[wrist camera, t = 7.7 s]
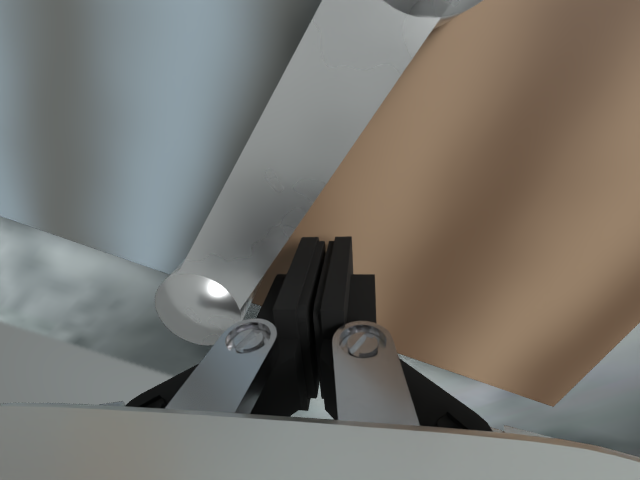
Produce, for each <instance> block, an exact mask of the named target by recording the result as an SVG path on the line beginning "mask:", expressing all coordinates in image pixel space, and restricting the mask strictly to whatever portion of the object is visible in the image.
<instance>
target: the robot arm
mask: <svg viewBox="0 0 640 480" xmlns="http://www.w3.org/2000/svg"><path fill="white" fill-rule="evenodd" d="M319 382H320V388H321V397H322V399H324V404H325V410H326V411H327V412H328V413H329V414H330V415H331V416H332V417H333V419H334V420H331V419H317V418H301V417H291V415H292V414H294V413H295V412H297V411H298V410H305V411H308V409H309V403H310V398H317V394H318V388H319ZM0 480H640V457H637V456H633V455H630V454H626V453H622V452H619V451H615V450H611V449H608V448H604V447H600V446H595V445H590V444H585V443H579V442H574V441H569V440H563V439H556V438H553V437H549V436H545V435H541V434H537V433H533V432H529V431H525V430H521V429H517V428H513V427H510V426H506V425H504V427H503V430H499V429H495V428H491V427H490V426H489V425H488V423H487V422H486V421H485V420H484V419H482V418H481V417H480V416H479V415H478V414H477V413H475V412H474V411H473V410H471V409H470V408H468V407H467V406H465V405H464V404H463V403H461V402H460V401H458V400H457V399H456V398H454V397H453V396H451V395H450V394H449V393H447V392H446V391H444V390H443V389H442V388H440V387H439V386H437V385H436V384H435V383H433V382H432V381H430V380H429V379H428V378H426V377H425V376H423V375H422V374H421V373H419V372H418V371H416V370H415V369H414V368H412V367H411V366H409V365H408V364H407V363H405V362H404V361H402V360H401V359H399V357H398V354H397V350H396V347H395V344H394V341H393V338H392V336H391V334H390V332H389V331H388V330H387V329H385V328H384V327H383V326H381V325H379V324H377V322H376V292H375V274H353V252H352V236H346V237H335V240H334V241H329V243H328V247H327V251H326V247H325V241H319V237H302V238H301V240H300V243H299V245H298V248H297V250H296V253H295V255H294V258H293V260H292V263H291V265H290V267H289V270H288V272H287V274H277V275H276V277H275V279H274V281H273V283H272V285H271V287H270V290H269V292H268V294H267V296H266V298H265V301H264V303H263V305H262V307H261V309H260V312H259V314H258V316H257V318H256V319H254V318H252V319H247V320H243V321H240V322H237V323H235V324H233V325H232V326H230V327H229V328H228V329H227V330H225V331H224V332H223V334H222V335H221V336H220V337H219V339H218V340H217V341H216V343H215V344H214V345H213V347H212V348H211V349H210V350H209V352H208V353H207V354H206V356H205V357H204V358H203V359H202V361H201V362H200V363H199V364H198V365H196V366H194V367H192V368H190V369H188V370H186V371H184V372H182V373H180V374H178V375H176V376H175V377H173V378H171V379H169V380H167V381H165V382H163V383H161V384H159V385H157V386H155V387H154V388H152V389H150V390H148V391H146V392H144V393H142V394H140V395H139V396H137V397H136V398H134V399H132V400H131V401H130V402H129V403H128V404H127V405H126V406H125V404H124V402H123V401H121V402H114V403H107V404H100V405H87V404H65V403H3V404H0Z"/></svg>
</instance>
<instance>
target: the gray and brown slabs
mask: <svg viewBox="0 0 640 480" xmlns="http://www.w3.org/2000/svg"><path fill="white" fill-rule="evenodd" d="M321 2H322V0H0V216H2V217H4V218H7V219H10V220H13V221H16V222H19V223H22V224H25V225H28V226H31V227H33V228H36V229H39V230H42V231H45V232H48V233H51V234H54V235H57V236H60V237H62V238H65V239H68V240H71V241H74V242H77V243H80V244H83V245H86V246H89V247H91V248H94V249H97V250H100V251H103V252H106V253H109V254H112V255H115V256H118V257H120V258H123V259H126V260H129V261H132V262H135V263H138V264H141V265H144V266H147V267H149V268H152V269H155V270H158V271H161V272H164V273H167V274H171V273H172V272H173V271H174V270H175V269H176V268H177V267H178V266H179V265H180V264H181V263H182V262H183V261H184V260H185V259H186V257H187V255H188V253H189V252H190V250H191V248H192V246H193V244H194V242H195V240H196V238H197V236H198V235H199V233H200V231H201V229H202V227H203V225H204V223H205V221H206V219H207V217H208V216H209V214H210V212H211V210H212V208H213V206H214V204H215V202H216V200H217V199H218V197H219V195H220V193H221V191H222V189H223V187H224V185H225V183H226V181H227V180H228V178H229V176H230V174H231V172H232V170H233V168H234V166H235V164H236V163H237V161H238V159H239V157H240V155H241V153H242V151H243V149H244V147H245V146H246V144H247V142H248V140H249V138H250V136H251V134H252V132H253V130H254V128H255V127H256V125H257V123H258V121H259V119H260V117H261V115H262V113H263V111H264V110H265V108H266V106H267V104H268V102H269V100H270V98H271V96H272V94H273V92H274V91H275V89H276V87H277V85H278V83H279V81H280V79H281V77H282V75H283V74H284V72H285V70H286V68H287V66H288V64H289V62H290V60H291V58H292V56H293V55H294V53H295V51H296V49H297V47H298V45H299V43H300V41H301V39H302V38H303V36H304V34H305V32H306V30H307V28H308V26H309V24H310V22H311V21H312V19H313V17H314V15H315V13H316V11H317V9H318V7H319V5H320V3H321ZM346 236H352V252H353V274H375V292H376V322H377V324H379V325H381V326H383V327H384V328H385V329H387V330H388V331H389V332H390V334H391V336H392V338H393V341H394V344H395V347H396V350H397V353H399V354H402V355H405V356H408V357H410V358H413V359H416V360H419V361H422V362H425V363H428V364H431V365H434V366H437V367H439V368H442V369H445V370H448V371H451V372H454V373H457V374H460V375H463V376H466V377H468V378H471V379H474V380H477V381H480V382H483V383H486V384H489V385H492V386H495V387H497V388H500V389H503V390H506V391H509V392H512V393H515V394H518V395H521V396H524V397H526V398H529V399H532V400H535V401H538V402H541V403H544V404H547V405H550V406H553V407H554V406H555V405H556V404H557V403H558V402H559V401H560V400H561V399H562V398H563V397H564V396H565V395H566V394H567V393H568V392H569V391H570V390H571V389H572V388H573V387H574V386H575V385H576V384H577V383H578V382H579V381H580V380H581V379H582V378H583V377H584V376H585V375H586V374H587V373H588V372H589V371H590V370H592V369H593V368H594V367H595V366H596V365H597V364H598V363H599V362H600V361H601V360H602V359H603V358H604V357H605V356H606V355H607V354H608V353H609V352H610V351H611V350H612V349H613V348H614V347H615V346H616V345H617V344H618V343H619V342H620V341H621V340H622V339H623V338H624V337H625V336H626V335H627V334H628V333H629V332H630V331H631V330H632V329H633V328H635V327H636V326H637V325H638V324H639V323H640V0H483V1H481V2H480V3H478V4H477V5H475V6H474V7H472V8H470V9H469V10H467V11H465V12H464V13H462V14H460V15H459V16H457V17H455V18H454V19H452V20H450V21H449V22H447V23H445V24H444V25H442V26H440V27H438V28H436V29H434V30H432V31H431V32H430V34H429V35H428V37H427V38H426V40H425V41H424V43H423V44H422V46H421V47H420V48H419V50H418V51H417V53H416V54H415V56H414V57H413V59H412V60H411V62H410V63H409V64H408V66H407V67H406V69H405V70H404V72H403V73H402V75H401V76H400V78H399V79H398V80H397V82H396V83H395V85H394V86H393V88H392V89H391V91H390V92H389V94H388V95H387V96H386V98H385V99H384V101H383V102H382V104H381V105H380V107H379V108H378V110H377V111H376V113H375V114H374V115H373V117H372V118H371V120H370V121H369V123H368V124H367V126H366V127H365V129H364V130H363V131H362V133H361V134H360V136H359V137H358V139H357V140H356V142H355V143H354V145H353V146H352V147H351V149H350V150H349V152H348V153H347V155H346V156H345V158H344V159H343V161H342V162H341V163H340V165H339V166H338V168H337V169H336V171H335V172H334V174H333V175H332V177H331V178H330V179H329V181H328V182H327V184H326V185H325V187H324V188H323V190H322V191H321V193H320V194H319V195H318V197H317V198H316V200H315V201H314V203H313V204H312V206H311V207H310V209H309V210H308V211H307V213H306V214H305V216H304V217H303V219H302V220H301V222H300V223H299V225H298V226H297V227H296V229H295V230H294V232H293V233H292V235H291V236H290V238H289V239H288V241H287V242H286V243H285V245H284V246H283V248H282V249H281V251H280V252H279V254H278V255H277V257H276V258H275V260H274V261H273V262H272V264H271V265H270V267H269V268H268V270H267V271H266V273H265V275H264V278H263V280H262V282H261V284H260V286H259V288H258V290H257V292H256V294H255V296H254V298H253V300H252V302H251V303H254V304H257V305H260V306H262V305H263V303H264V301H265V298H266V296H267V294H268V292H269V290H270V287H271V285H272V283H273V281H274V279H275V277H276V275H277V274H287V272H288V270H289V267H290V265H291V263H292V260H293V258H294V255H295V253H296V250H297V248H298V245H299V243H300V240H301V238H302V237H319V241H325V247H326V251H327V247H328V243H329V241H334V240H335V237H346Z"/></svg>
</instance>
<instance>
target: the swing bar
mask: <svg viewBox="0 0 640 480" xmlns="http://www.w3.org/2000/svg"><path fill="white" fill-rule="evenodd" d="M481 1H483V0H322V2H321V3H320V5H319V7H318V9H317V11H316V13H315V15H314V17H313V19H312V21H311V22H310V24H309V26H308V28H307V30H306V32H305V34H304V36H303V38H302V39H301V41H300V43H299V45H298V47H297V49H296V51H295V53H294V55H293V56H292V58H291V60H290V62H289V64H288V66H287V68H286V70H285V72H284V74H283V75H282V77H281V79H280V81H279V83H278V85H277V87H276V89H275V91H274V92H273V94H272V96H271V98H270V100H269V102H268V104H267V106H266V108H265V110H264V111H263V113H262V115H261V117H260V119H259V121H258V123H257V125H256V127H255V128H254V130H253V132H252V134H251V136H250V138H249V140H248V142H247V144H246V146H245V147H244V149H243V151H242V153H241V155H240V157H239V159H238V161H237V163H236V164H235V166H234V168H233V170H232V172H231V174H230V176H229V178H228V180H227V181H226V183H225V185H224V187H223V189H222V191H221V193H220V195H219V197H218V199H217V200H216V202H215V204H214V206H213V208H212V210H211V212H210V214H209V216H208V217H207V219H206V221H205V223H204V225H203V227H202V229H201V231H200V233H199V235H198V236H197V238H196V240H195V242H194V244H193V246H192V248H191V250H190V252H189V253H188V255H187V257H186V259H185V260H184V261H183V262H182V263H181V264H180V265H179V266H178V267H177V268H176V269H175V270H174V271H173V272H172V273H171V274H170V275H169V276H168V277H167V278H166V279H165V280H164V281H163V283H162V284H161V285H160V286H159V288H158V289H157V292H156V295H155V307H156V311H157V313H158V316H159V317H160V319H161V321H162V322H163V323H164V325H165V326H166V327H167V328H168V329H169V330H170V331H171V332H173V333H174V334H175V335H177V336H178V337H180V338H182V339H184V340H186V341H188V342H191V343H195V344H199V345H214V344H215V343H216V341H217V340H218V339H219V337H220V336H221V335H222V334H223V332H224V331H225V330H227V329H228V328H229V327H230V326H232V325H233V324H235V323H237V322H240V321H243V319H244V317H245V314H246V312H247V310H248V308H249V306H250V304H251V302H252V300H253V298H254V296H255V294H256V292H257V290H258V288H259V286H260V284H261V282H262V280H263V278H264V275H265V273H266V271H267V270H268V268H269V267H270V265H271V264H272V262H273V261H274V260H275V258H276V257H277V255H278V254H279V252H280V251H281V249H282V248H283V246H284V245H285V243H286V242H287V241H288V239H289V238H290V236H291V235H292V233H293V232H294V230H295V229H296V227H297V226H298V225H299V223H300V222H301V220H302V219H303V217H304V216H305V214H306V213H307V211H308V210H309V209H310V207H311V206H312V204H313V203H314V201H315V200H316V198H317V197H318V195H319V194H320V193H321V191H322V190H323V188H324V187H325V185H326V184H327V182H328V181H329V179H330V178H331V177H332V175H333V174H334V172H335V171H336V169H337V168H338V166H339V165H340V163H341V162H342V161H343V159H344V158H345V156H346V155H347V153H348V152H349V150H350V149H351V147H352V146H353V145H354V143H355V142H356V140H357V139H358V137H359V136H360V134H361V133H362V131H363V130H364V129H365V127H366V126H367V124H368V123H369V121H370V120H371V118H372V117H373V115H374V114H375V113H376V111H377V110H378V108H379V107H380V105H381V104H382V102H383V101H384V99H385V98H386V96H387V95H388V94H389V92H390V91H391V89H392V88H393V86H394V85H395V83H396V82H397V80H398V79H399V78H400V76H401V75H402V73H403V72H404V70H405V69H406V67H407V66H408V64H409V63H410V62H411V60H412V59H413V57H414V56H415V54H416V53H417V51H418V50H419V48H420V47H421V46H422V44H423V43H424V41H425V40H426V38H427V37H428V35H429V34H430V32H431V31H432V30H434V29H436V28H438V27H440V26H442V25H444V24H445V23H447V22H449V21H450V20H452V19H454V18H455V17H457V16H459V15H460V14H462V13H464V12H465V11H467V10H469V9H470V8H472V7H474V6H475V5H477V4H478V3H480V2H481Z"/></svg>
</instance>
